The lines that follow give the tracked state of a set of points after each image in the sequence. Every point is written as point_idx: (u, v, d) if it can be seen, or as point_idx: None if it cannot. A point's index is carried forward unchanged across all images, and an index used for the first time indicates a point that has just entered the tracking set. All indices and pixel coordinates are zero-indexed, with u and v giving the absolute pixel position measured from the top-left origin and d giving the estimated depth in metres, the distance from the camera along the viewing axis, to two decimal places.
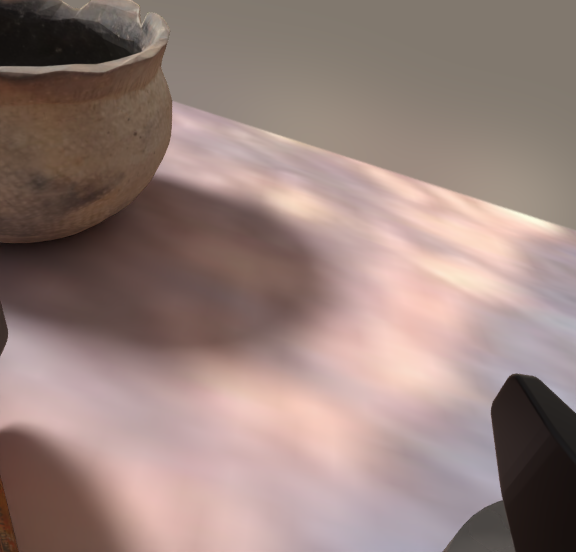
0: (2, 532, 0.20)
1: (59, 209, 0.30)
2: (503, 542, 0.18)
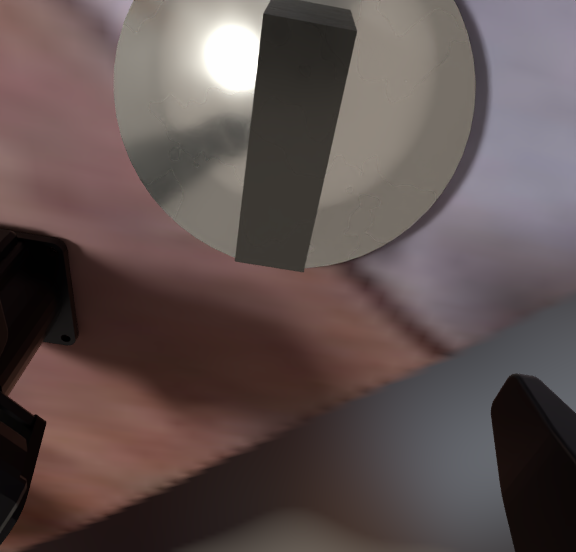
0: None
1: None
2: None
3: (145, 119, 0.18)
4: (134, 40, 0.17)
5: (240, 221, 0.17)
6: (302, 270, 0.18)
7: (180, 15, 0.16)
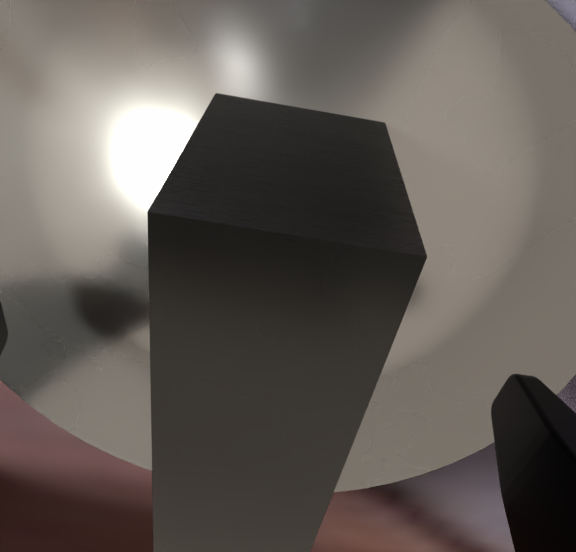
0: None
1: None
2: None
3: None
4: None
5: (155, 548, 0.08)
6: None
7: (22, 130, 0.08)
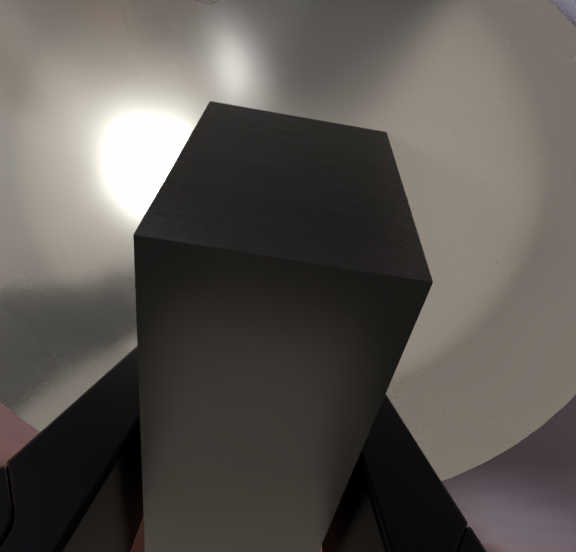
0: None
1: None
2: None
3: None
4: None
5: None
6: None
7: (9, 138, 0.07)
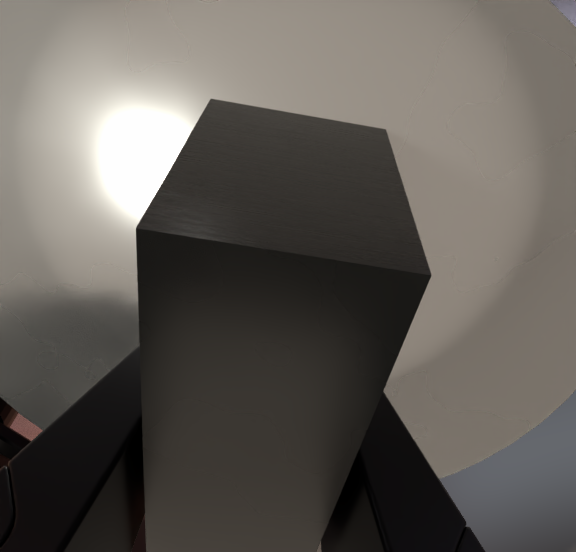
0: None
1: None
2: None
3: None
4: None
5: None
6: None
7: (11, 136, 0.07)
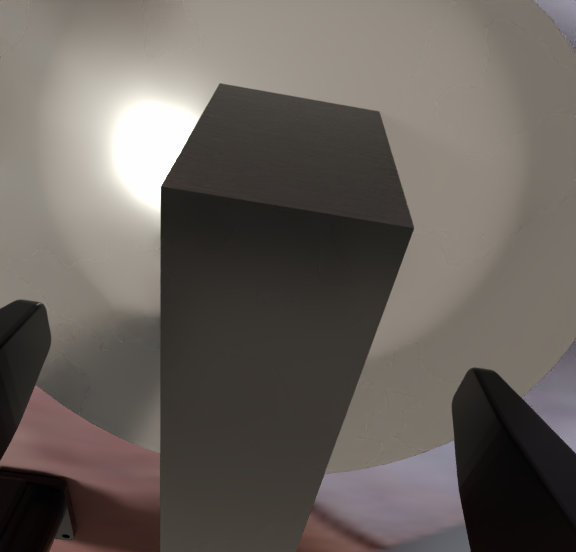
0: None
1: None
2: None
3: (4, 283, 0.10)
4: None
5: (162, 515, 0.08)
6: None
7: (36, 118, 0.08)
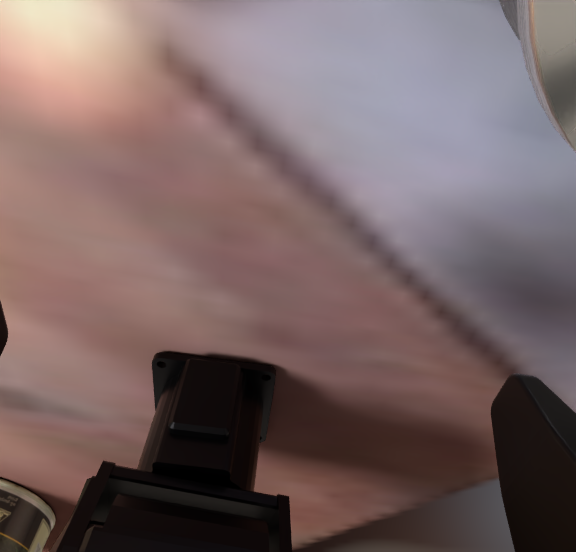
0: None
1: None
2: None
3: None
4: None
5: None
6: None
7: None
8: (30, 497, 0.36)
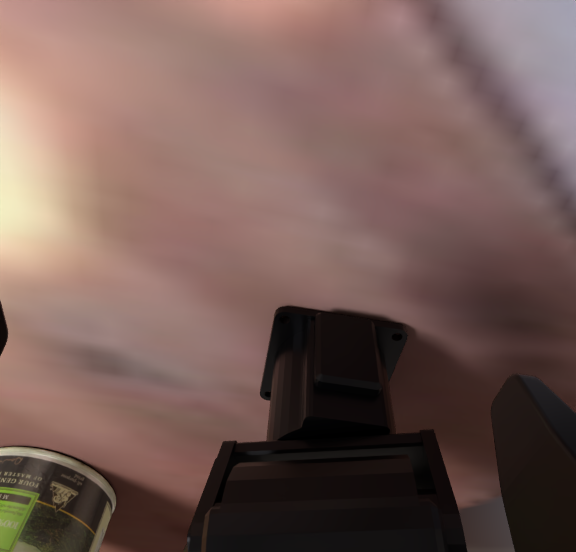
0: None
1: None
2: None
3: None
4: None
5: None
6: None
7: None
8: (96, 477, 0.33)
